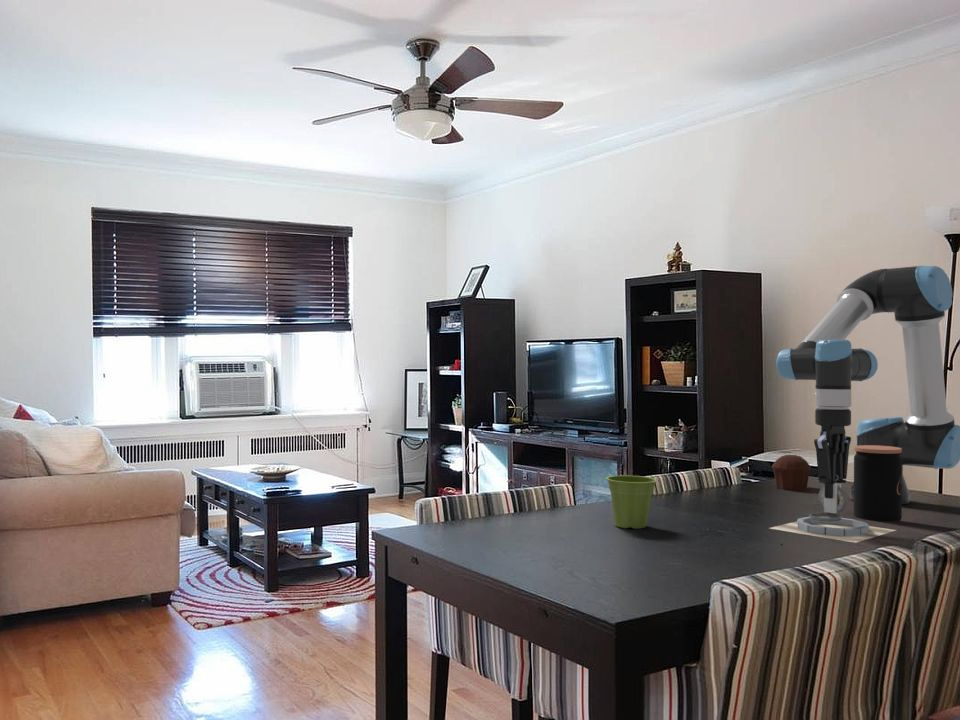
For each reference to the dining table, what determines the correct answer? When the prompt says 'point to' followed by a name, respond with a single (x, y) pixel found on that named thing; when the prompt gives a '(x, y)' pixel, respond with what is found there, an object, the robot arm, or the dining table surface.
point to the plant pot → (631, 499)
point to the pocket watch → (840, 506)
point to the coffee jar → (878, 483)
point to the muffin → (791, 472)
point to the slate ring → (858, 529)
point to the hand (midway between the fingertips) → (832, 511)
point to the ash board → (872, 533)
